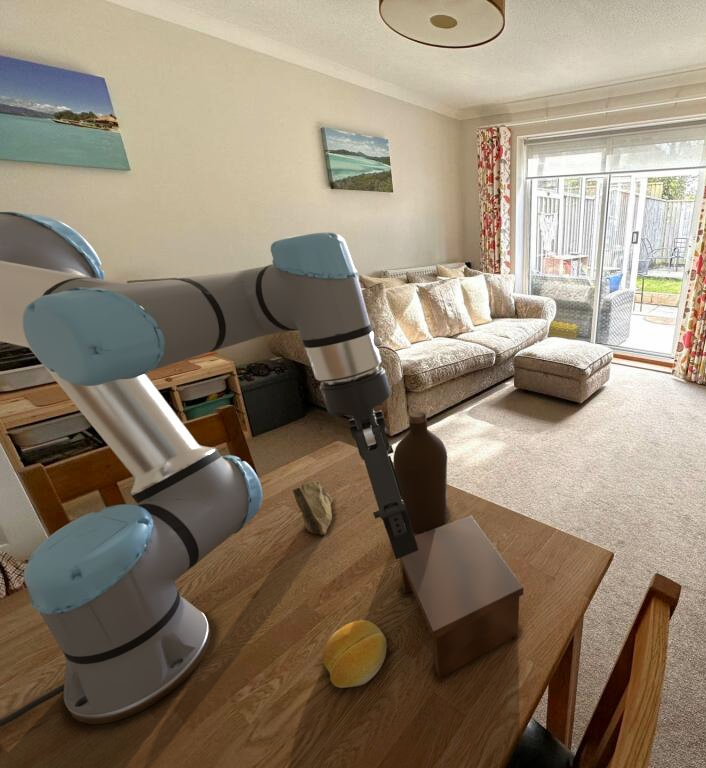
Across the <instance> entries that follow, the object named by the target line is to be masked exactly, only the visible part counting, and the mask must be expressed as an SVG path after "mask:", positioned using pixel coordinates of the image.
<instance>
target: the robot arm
mask: <svg viewBox="0 0 706 768" xmlns="http://www.w3.org/2000/svg"><path fill="white" fill-rule="evenodd" d="M270 253H271V256H272V261H271V262H272V263H271V264H269V265H265V266H259V267H258V266H257V267H254V268H247V269H243V270H242V269H241V270H236V271H228V272H219V273H211V274H204V275H195V276H188V277H187V276H186V277H180V278H170V279H162V280H155V281H153V280H152V281H143V282H120V281H114V280H108V279H106V277H105V276H106V275H105V271H104V270H103V269H102V268H101V267H100V266H102V262H101V259H100V258H99V256H98V254H97V252H96V251H95V250H94V248H93V246H91V244H90V243H89V241H87V239H85V238H84V237H83V236H82V235H81V234H80V233H79V232H78V231H76V230H75V229H74V228H72V227H71V226H69V225H67V224H66V223H64V222H62V221H61V220H58V219H55V218H52V217H49V216H46V215H41V214H27V213H25V214H24V213H19V212H16V211H0V342H2V343H7V344H11V345H15V346H20V347H25V348H28V349H29V350H30V351H31V353H32V354H34V356H35V357H36V358H37V359H38V361H39V363H41V364H42V365H43V367H44V369H46V370H47V372H48V373H49V374H50V375H51V377H52V378H53V379H54V381H55V382H56V383H57V384H58V385H59V387H60V388H61V389H62V391H63V392H64V393H66V395H67V396H68V398H69V399H70V400H71V401H72V403H73V404H74V405H75V406H76V408H77V409H78V410H79V412H80V413H81V414H82V415H83V416H84V418H85V419H86V420H87V421H88V422H89V424H90V425H91V426H92V428H93V429H94V430H95V431H96V432H97V433H98V435H99V436H100V438H102V440H103V441H104V442H105V443H106V445H107V446H108V447H109V448H110V450H111V452H113V453H114V455H115V456H116V457H117V459H119V461H120V463H122V465H123V466H124V467H125V468H126V470H127V471H128V472H129V473H130V474H131V475H132V477H133V479H134V482H133V485H132V488H131V490H130V493H129V495H130V496H131V497H132V499H133V500H134V501H135V503H136V504H131V503H127V504H126V503H124V504H116V505H111V506H110V505H109V506H106V507H103V508H102V509H101V510H100V511H98V512H95V511H91V512H89V513H86V514H84V515H81V516H80V517H78V518H76V519H74V520H72V521H71V522H69V523H67V524H66V525H64V526H62V527H61V528H59V529H58V530H56V531H55V532H53V533H51V534H50V536H48V537H46V539H44V540H43V542H41V543H40V544H39V545H38V546H37V547H36V549H35V550H34V551H33V552H32V554H31V555H30V557H29V559H28V561H27V564H26V565H25V566H24V570H23V581H24V584H25V586H26V588H27V590H28V593H29V601H30V603H31V605H32V607H33V609H35V611H36V612H39V613H40V616H41V617H42V619H43V620H44V622H45V624H46V625H47V627H48V629H49V631H50V632H51V635H52V636H53V638H54V640H55V641H56V643H57V645H58V647H59V648H60V650H61V652H62V653H63V655H64V657H65V660H66V661H65V670H64V671H65V672H64V683H63V684H62V685H60V686H58V687H56V688H54V689H52V690H50V691H49V692H47V693H45V694H43V695H41V696H39V697H38V698H36V699H34V700H32V701H30V702H29V703H27V704H25V705H23V706H22V707H20V708H19V709H17V710H15V711H14V712H11V713H9V714H8V715H6V716H4V717H2V718H0V727H3V726H4V725H6V724H8V723H11V722H12V721H14V720H16V719H18V718H19V717H21V716H22V715H24V714H26V713H27V712H29V711H31V710H32V709H34V708H36V707H37V706H39V705H41V704H43V703H45V702H46V701H47V702H48V701H49V700H50V699H52V698H54V697H56V696H57V695H60V694H61V693H63V702H64V704H65V706H66V708H67V711H69V713H70V715H71V716H72V717H73V718H74V719H75V720H76V721H78V722H80V723H83V724H88V725H103V724H109V723H113V722H118V721H120V720H124V719H127V718H129V717H131V716H134V715H136V714H138V713H140V712H142V711H144V710H146V709H148V708H149V707H151V706H153V705H155V704H156V703H157V702H159V701H161V700H162V699H163V698H165V697H166V696H167V695H169V694H171V693H172V692H173V691H174V690H175V689H177V688H178V687H179V686H180V685H181V684H182V683H183V682H184V681H185V680H187V678H188V677H189V676H190V675H191V674H193V672H194V671H195V669H197V667H198V666H199V664H201V662H202V660H203V658H204V657H205V655H206V653H207V651H208V648H209V647H210V643H211V635H212V633H211V628H210V624H209V622H208V619H207V617H206V615H205V614H204V613H203V612H202V611H201V610H200V609H198V608H197V607H195V606H194V605H193V604H192V603H191V602H189V601H188V600H187V599H185V598H184V597H183V596H181V594H180V592H179V589H178V587H177V583H176V581H177V580H178V579H179V578H180V577H183V575H185V574H186V573H187V572H188V571H190V569H192V568H193V567H194V566H196V565H197V564H198V563H200V561H202V560H203V559H204V558H205V557H207V556H208V555H209V554H210V553H212V552H213V551H214V550H215V549H216V548H218V547H219V546H221V545H222V544H223V543H224V542H226V540H228V539H229V538H230V537H232V536H233V535H235V534H237V533H239V532H241V531H242V530H243V528H244V526H246V524H247V523H249V522H250V521H251V520H252V519H253V518H254V517H256V515H257V514H258V513H259V510H260V509H261V507H262V500H263V488H262V484H261V481H260V479H259V477H258V475H257V472H255V469H253V468H252V466H251V465H250V464H249V463H248V462H247V461H245V460H242V459H241V458H240V457H238V456H236V455H229V454H228V455H222V454H221V453H220V452H219V450H218V449H217V448H216V447H211V446H205V445H201V444H199V442H198V441H197V440H196V439H195V438H194V436H193V435H192V433H191V432H190V431H189V430H188V428H187V426H185V423H183V421H182V420H181V419H180V418H179V416H178V415H177V414H176V412H175V411H174V409H173V408H172V407H171V405H170V404H169V403H168V401H167V400H166V399H165V398H164V396H163V395H162V394H161V392H160V391H159V389H158V388H157V387H156V385H155V384H154V383H153V381H152V380H151V379H150V377H149V376H148V373H150V372H152V371H155V370H158V369H161V368H165V367H168V366H170V365H171V366H172V365H174V364H177V363H180V362H184V361H186V360H190V359H193V358H196V357H198V356H202V355H205V354H207V353H212V352H215V351H219V350H221V349H225V348H228V347H231V346H235V345H238V344H241V343H245V342H248V341H251V340H255V339H258V338H262V337H265V336H269V335H276V334H280V333H287V332H294V331H298V332H299V335H300V338H301V341H302V344H303V349H304V351H305V354H306V357H307V359H308V362H309V364H310V368H311V370H312V373H313V377H314V379H315V380H317V381H319V382H320V384H319V387H318V388H319V391H320V395H321V397H322V399H323V402H324V403H323V404H324V405H325V408H326V411H327V413H329V414H330V415H332V416H337V417H338V416H339V417H343V416H352V417H353V418H351V419H348V422H349V425H350V426H349V430H350V435H351V437H352V438H353V441H355V443H356V447H357V450H358V454H359V457H360V459H361V460H362V461H364V465H365V468H366V472H367V474H368V478H369V481H370V484H371V488H372V491H373V495H374V498H375V501H376V504H377V507H378V510H376V511H373V512H372V513H373V516H374V519H375V520H376V519H378V518H380V519H381V520H382V523H383V525H384V528H385V531H386V534H387V537H388V539H389V542H390V545H391V549H392V551H393V554H394V557H395V560H398V559H399V558H401V557H404V556H406V555H408V554H411V553H413V552H415V551H418V550H419V549H418V546H417V543H416V540H415V536H416V535H415V532H414V531H413V530H412V527H411V524H410V520H409V517H408V514H407V511H406V508H405V504H404V501H403V500H401V496H402V492H401V488H400V485H399V482H398V479H397V476H396V472H395V468H394V462H393V460H392V457H391V454H394V452H395V451H394V449H393V445H392V444H390V441H389V439H388V436H387V430H388V429H387V426H386V422H385V418H384V416H383V412H382V410H377V411H376V409H375V408H376V407H377V406H380V405H383V404H384V403H386V402H387V401H389V399H390V398H391V396H392V390H391V385H390V383H389V379H388V375H387V372H386V370H385V368H383V367H382V366H381V363H382V361H383V360H382V357H381V354H380V350H379V348H377V347H381V346H382V345H383V340H382V338H380V337H375V333H374V330H373V327H372V323H371V321H370V318H369V314H368V311H367V307H366V304H365V303H366V302H365V300H364V296H363V292H362V288H361V284H360V280H359V272H358V270H357V268H355V265H354V262H353V259H352V256H351V253H350V251H349V247H348V245H347V242H346V240H345V238H343V237H342V236H341V235H340V234H338V233H335V232H329V231H328V232H315V233H306V234H300V235H293V236H289V237H288V236H287V237H284V238H281V239H278V240H275V241H273V242H272V243H271V244H270ZM374 337H375V338H374Z"/></svg>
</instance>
